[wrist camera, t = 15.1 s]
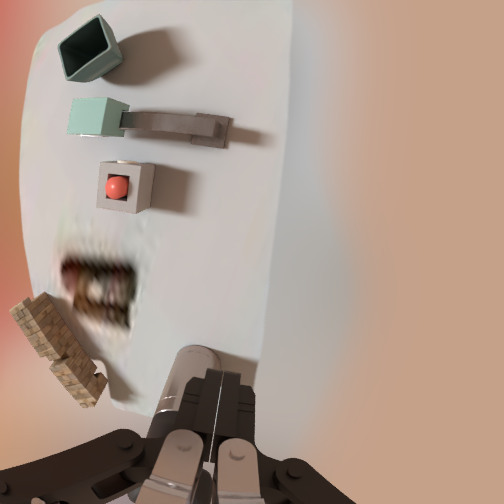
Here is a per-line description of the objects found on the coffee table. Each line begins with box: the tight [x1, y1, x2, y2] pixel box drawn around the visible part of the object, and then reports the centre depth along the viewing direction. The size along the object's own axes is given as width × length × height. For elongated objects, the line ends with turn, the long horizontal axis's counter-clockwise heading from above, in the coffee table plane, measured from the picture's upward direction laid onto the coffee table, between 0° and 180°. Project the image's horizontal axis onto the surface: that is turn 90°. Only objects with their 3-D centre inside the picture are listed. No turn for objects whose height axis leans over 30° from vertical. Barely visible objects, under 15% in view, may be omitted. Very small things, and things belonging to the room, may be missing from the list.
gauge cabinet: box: [97, 160, 155, 214], centre depth 40 cm, size 7×7×6 cm
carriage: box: [67, 97, 129, 137], centre depth 33 cm, size 5×6×7 cm
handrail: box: [81, 112, 229, 148], centre depth 37 cm, size 5×26×6 cm, turn 80°
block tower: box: [10, 292, 108, 408], centre depth 51 cm, size 8×8×29 cm
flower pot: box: [58, 14, 123, 82], centre depth 32 cm, size 9×9×9 cm
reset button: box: [105, 175, 130, 199], centre depth 39 cm, size 3×3×4 cm
